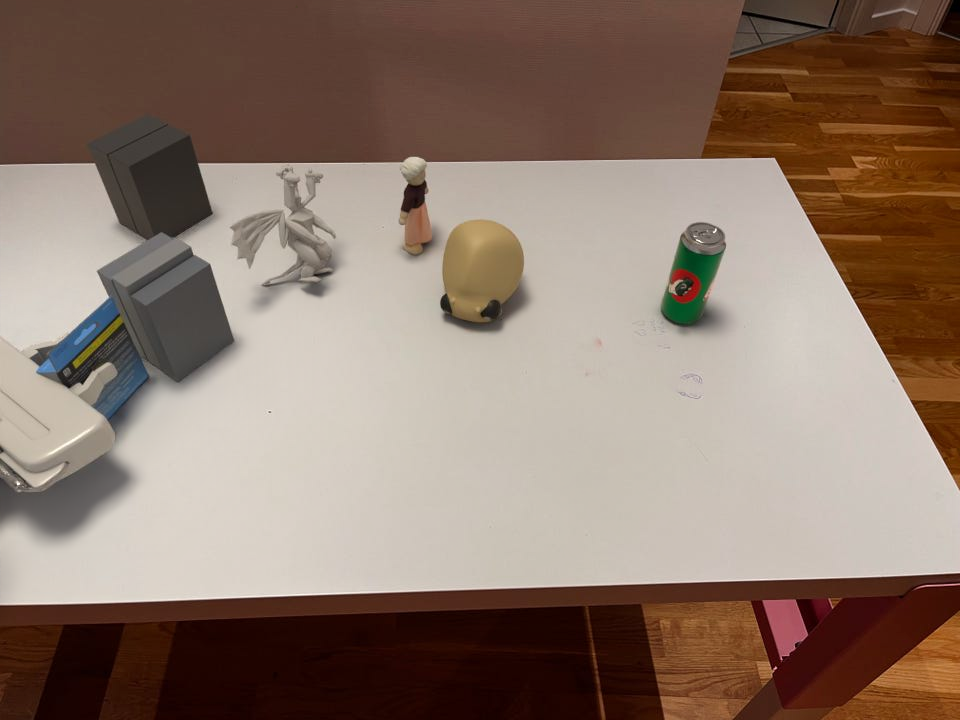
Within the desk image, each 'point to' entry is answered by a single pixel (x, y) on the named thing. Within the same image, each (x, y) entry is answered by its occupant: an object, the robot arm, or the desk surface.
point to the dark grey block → (151, 177)
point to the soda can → (693, 272)
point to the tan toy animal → (480, 270)
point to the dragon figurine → (288, 229)
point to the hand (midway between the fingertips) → (93, 352)
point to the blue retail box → (98, 357)
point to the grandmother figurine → (415, 206)
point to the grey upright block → (168, 304)
